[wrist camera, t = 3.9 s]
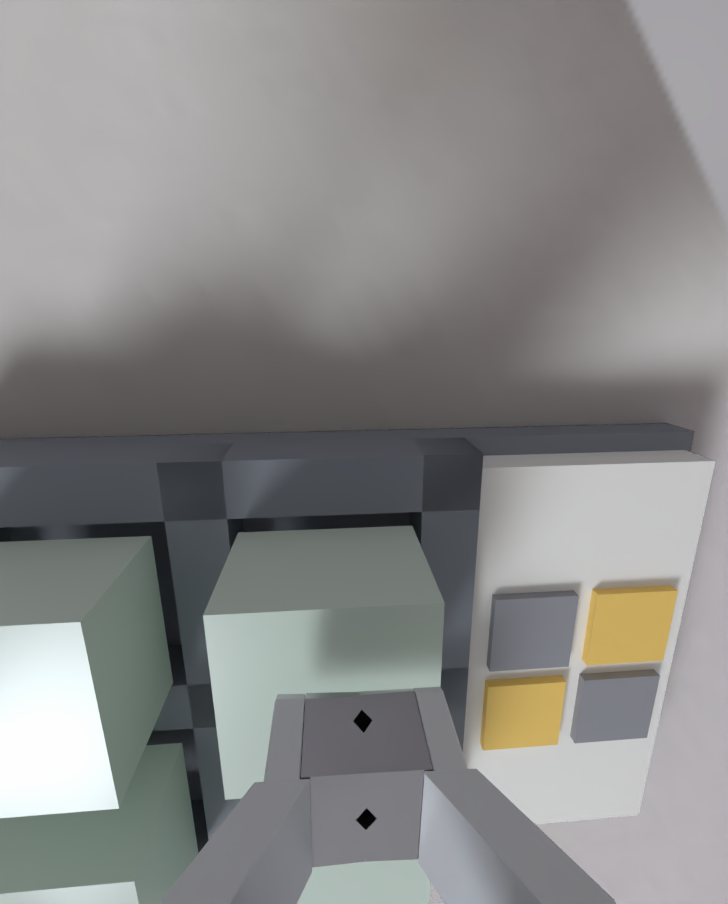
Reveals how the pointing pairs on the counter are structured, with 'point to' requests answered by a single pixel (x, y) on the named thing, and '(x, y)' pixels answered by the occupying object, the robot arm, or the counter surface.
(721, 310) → the counter surface
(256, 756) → the button
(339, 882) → the button
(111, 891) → the button
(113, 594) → the button
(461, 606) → the board
